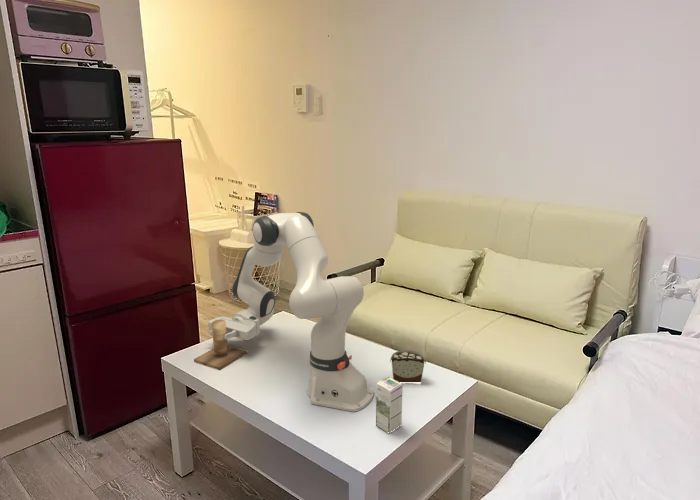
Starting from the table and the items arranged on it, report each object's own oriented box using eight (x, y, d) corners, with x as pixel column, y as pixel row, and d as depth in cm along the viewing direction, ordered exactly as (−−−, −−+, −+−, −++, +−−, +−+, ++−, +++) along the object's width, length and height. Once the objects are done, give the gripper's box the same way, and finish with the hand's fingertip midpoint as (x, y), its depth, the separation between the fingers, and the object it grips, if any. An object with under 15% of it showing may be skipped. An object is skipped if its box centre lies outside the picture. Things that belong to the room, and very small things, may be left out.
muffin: (424, 375, 179) (425, 350, 177) (425, 384, 174) (426, 358, 171) (389, 374, 181) (390, 348, 178) (389, 382, 175) (389, 356, 172)
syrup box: (402, 426, 151) (403, 382, 147) (389, 434, 147) (390, 390, 143) (387, 418, 155) (389, 375, 151) (374, 426, 151) (375, 382, 147)
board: (247, 353, 196) (247, 351, 195) (220, 370, 183) (219, 367, 183) (222, 346, 202) (222, 343, 202) (194, 361, 189) (193, 359, 189)
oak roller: (230, 350, 193) (228, 321, 190) (221, 355, 189) (218, 326, 185) (220, 347, 195) (218, 318, 192) (211, 352, 191) (208, 323, 188)
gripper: (222, 310, 205) (196, 322, 193) (262, 320, 195) (237, 333, 184) (223, 324, 207) (198, 337, 195) (262, 335, 197) (238, 349, 185)
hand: (217, 335), depth 189 cm, fingers closed on oak roller, 5 cm apart
